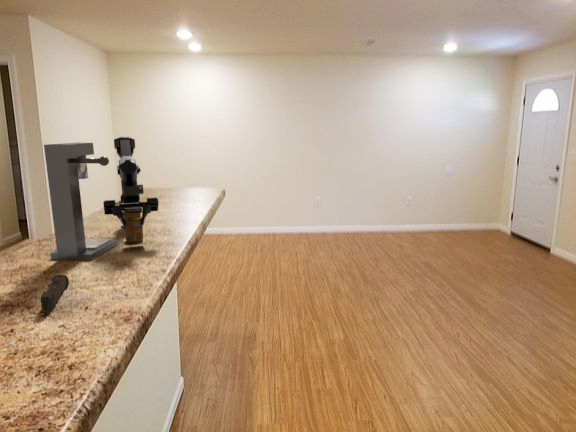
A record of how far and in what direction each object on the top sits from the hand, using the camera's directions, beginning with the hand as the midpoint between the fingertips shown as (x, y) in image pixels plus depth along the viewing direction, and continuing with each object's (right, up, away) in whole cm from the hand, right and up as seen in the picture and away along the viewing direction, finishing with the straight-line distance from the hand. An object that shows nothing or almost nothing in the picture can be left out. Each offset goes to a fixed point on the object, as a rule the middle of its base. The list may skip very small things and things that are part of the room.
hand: (133, 225), depth 144 cm
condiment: (-1, -6, +3) cm, 7 cm away
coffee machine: (-12, -10, -2) cm, 16 cm away
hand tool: (-4, -19, -40) cm, 45 cm away
